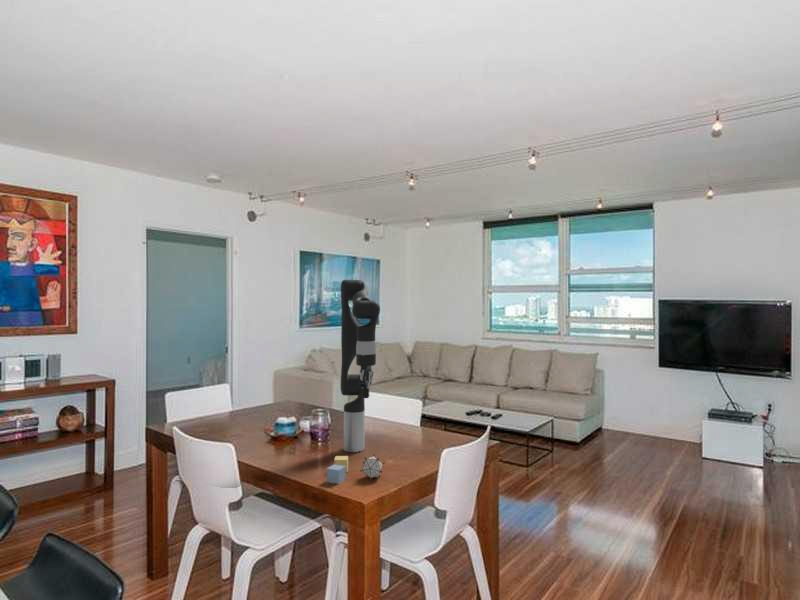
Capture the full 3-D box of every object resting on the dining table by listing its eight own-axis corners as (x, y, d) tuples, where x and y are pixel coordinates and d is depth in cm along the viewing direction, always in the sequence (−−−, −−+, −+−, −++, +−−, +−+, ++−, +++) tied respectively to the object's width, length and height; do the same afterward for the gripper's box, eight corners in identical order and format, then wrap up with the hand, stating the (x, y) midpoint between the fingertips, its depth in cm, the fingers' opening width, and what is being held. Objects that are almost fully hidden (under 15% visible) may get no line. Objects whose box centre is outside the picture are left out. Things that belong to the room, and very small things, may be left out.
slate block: (333, 477, 183) (333, 464, 183) (345, 479, 181) (345, 466, 181) (326, 482, 179) (326, 468, 179) (338, 484, 177) (338, 470, 177)
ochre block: (335, 468, 193) (335, 456, 194) (348, 468, 194) (348, 455, 194) (334, 473, 188) (334, 460, 189) (347, 473, 189) (347, 459, 189)
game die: (368, 489, 182) (352, 469, 180) (372, 473, 190) (357, 454, 187) (387, 480, 179) (372, 459, 177) (391, 464, 187) (376, 445, 185)
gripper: (361, 350, 196) (361, 394, 196) (351, 354, 183) (351, 400, 184) (379, 351, 195) (379, 394, 195) (370, 354, 182) (370, 401, 182)
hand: (365, 397), depth 189 cm, fingers closed
